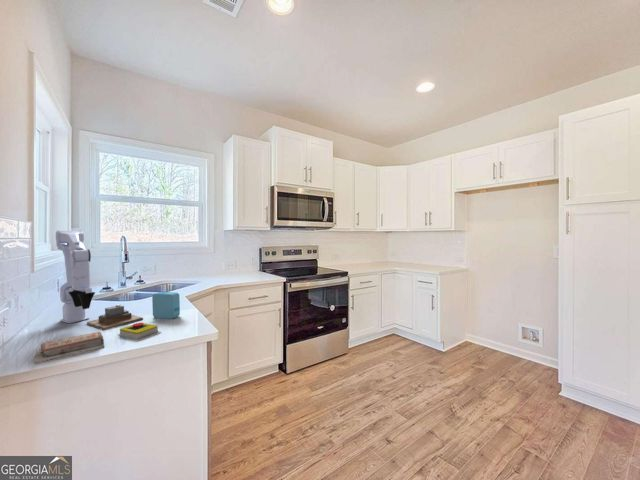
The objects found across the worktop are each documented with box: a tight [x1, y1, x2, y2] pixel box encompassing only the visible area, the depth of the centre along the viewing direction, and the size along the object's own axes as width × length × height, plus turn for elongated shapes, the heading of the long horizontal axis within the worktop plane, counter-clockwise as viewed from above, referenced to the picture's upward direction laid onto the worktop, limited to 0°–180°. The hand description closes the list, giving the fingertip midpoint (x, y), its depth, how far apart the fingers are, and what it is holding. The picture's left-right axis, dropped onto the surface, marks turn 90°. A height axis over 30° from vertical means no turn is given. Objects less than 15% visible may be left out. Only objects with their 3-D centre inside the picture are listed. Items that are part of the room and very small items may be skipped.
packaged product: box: [34, 331, 105, 364], centre depth 99 cm, size 18×5×10 cm
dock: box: [86, 311, 144, 331], centre depth 130 cm, size 16×16×3 cm
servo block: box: [99, 303, 130, 318], centre depth 130 cm, size 4×10×7 cm, turn 151°
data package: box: [151, 291, 181, 320], centre depth 137 cm, size 12×4×12 cm, turn 77°
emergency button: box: [117, 322, 162, 341], centre depth 115 cm, size 9×4×15 cm
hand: (82, 307), depth 122 cm, fingers open, 7 cm apart
